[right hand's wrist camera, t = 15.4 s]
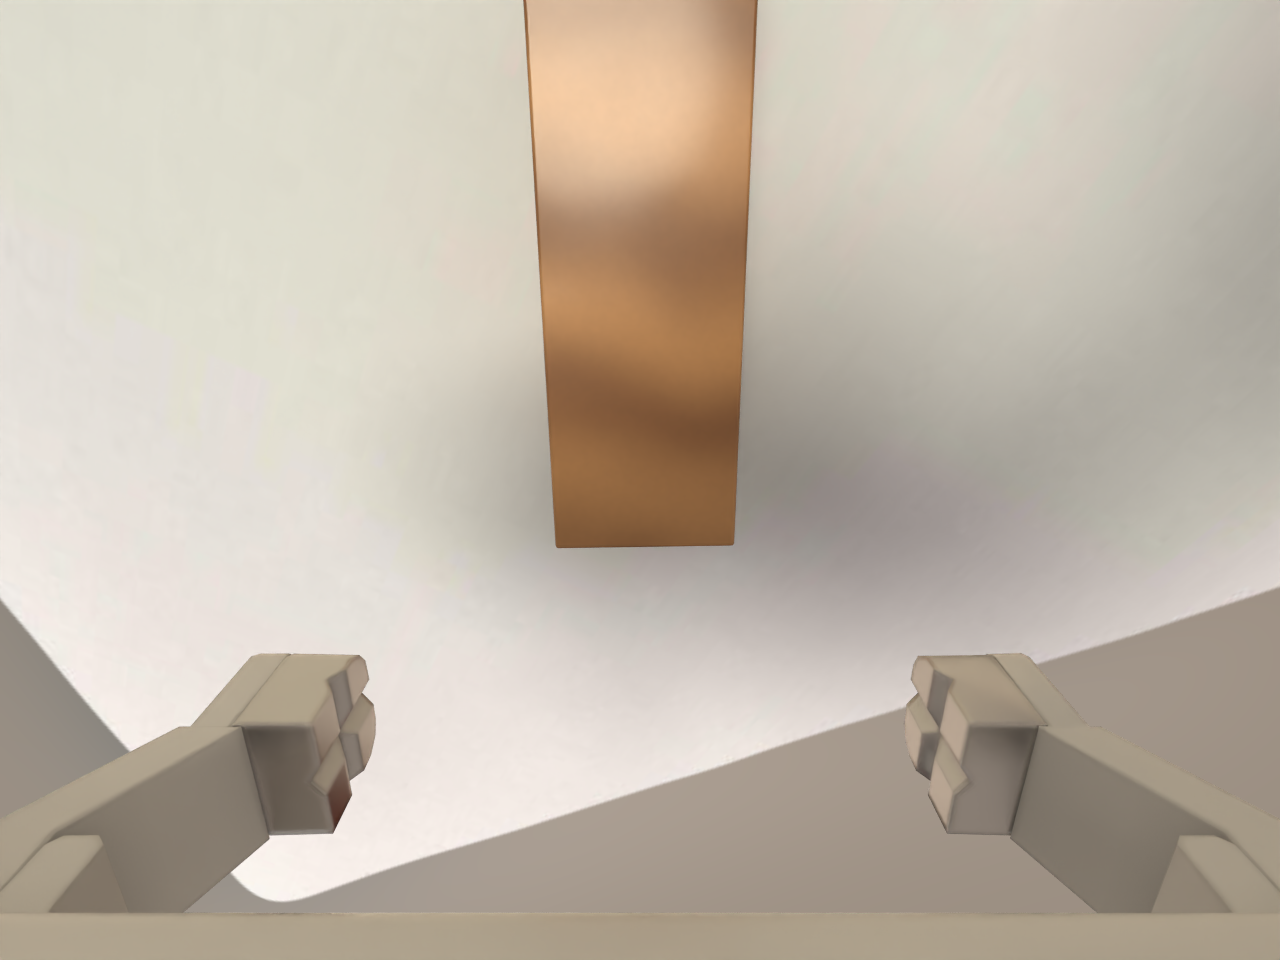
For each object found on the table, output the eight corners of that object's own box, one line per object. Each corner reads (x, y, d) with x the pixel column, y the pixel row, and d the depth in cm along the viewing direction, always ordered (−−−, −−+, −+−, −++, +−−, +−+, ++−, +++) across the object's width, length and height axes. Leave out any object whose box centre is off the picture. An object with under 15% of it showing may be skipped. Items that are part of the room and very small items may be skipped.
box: (702, 442, 36) (734, 546, 25) (577, 443, 36) (555, 549, 25) (714, -57, 28) (767, -219, 17) (555, -56, 28) (510, -218, 17)
